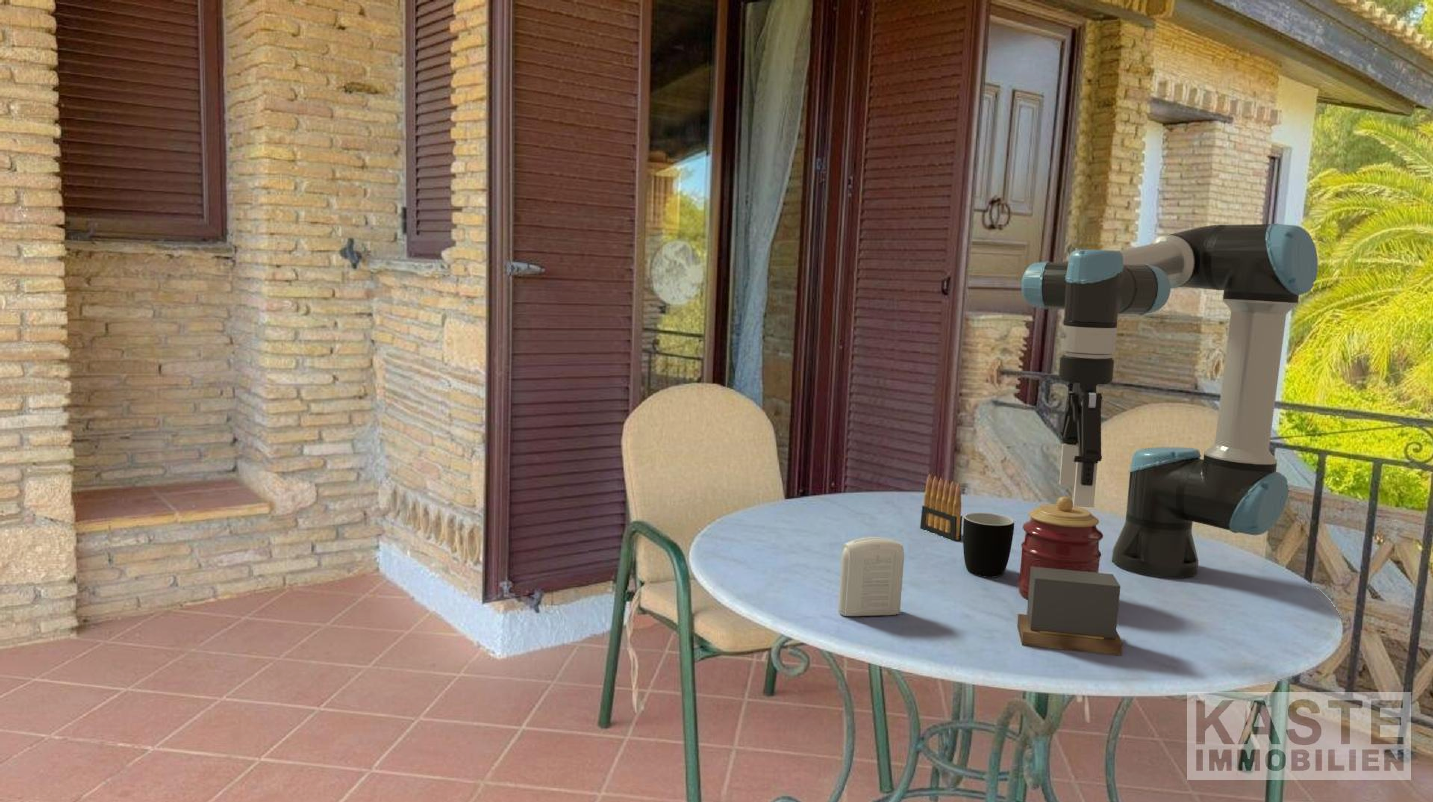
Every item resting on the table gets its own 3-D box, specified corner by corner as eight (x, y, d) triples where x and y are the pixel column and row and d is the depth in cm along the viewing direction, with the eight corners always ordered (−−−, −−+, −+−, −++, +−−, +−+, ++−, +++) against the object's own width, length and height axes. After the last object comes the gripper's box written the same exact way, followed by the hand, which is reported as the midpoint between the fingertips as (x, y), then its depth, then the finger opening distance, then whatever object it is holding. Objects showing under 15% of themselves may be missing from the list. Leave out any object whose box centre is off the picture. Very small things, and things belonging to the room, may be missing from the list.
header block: (1111, 636, 154) (1115, 595, 153) (1121, 655, 146) (1125, 613, 145) (1017, 626, 156) (1020, 586, 156) (1022, 644, 149) (1025, 602, 148)
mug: (1019, 578, 181) (1024, 524, 179) (975, 580, 179) (979, 525, 177) (985, 559, 192) (989, 507, 191) (943, 561, 190) (947, 509, 189)
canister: (1008, 583, 178) (1016, 486, 176) (1082, 586, 178) (1091, 489, 175) (1029, 608, 165) (1037, 504, 163) (1108, 612, 165) (1118, 507, 162)
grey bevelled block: (1108, 624, 153) (1112, 574, 152) (1115, 638, 147) (1120, 586, 146) (1026, 616, 155) (1030, 566, 154) (1030, 629, 149) (1034, 578, 148)
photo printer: (893, 607, 163) (898, 533, 162) (904, 616, 159) (909, 541, 157) (833, 609, 161) (838, 535, 159) (843, 619, 157) (847, 542, 155)
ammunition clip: (961, 540, 205) (965, 483, 203) (954, 541, 204) (958, 484, 202) (926, 527, 214) (930, 472, 213) (919, 528, 213) (923, 473, 212)
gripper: (1049, 346, 160) (1039, 476, 163) (1074, 362, 136) (1062, 514, 139) (1098, 349, 159) (1087, 479, 162) (1132, 365, 135) (1118, 518, 138)
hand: (1075, 495), depth 150 cm, fingers open, 13 cm apart
